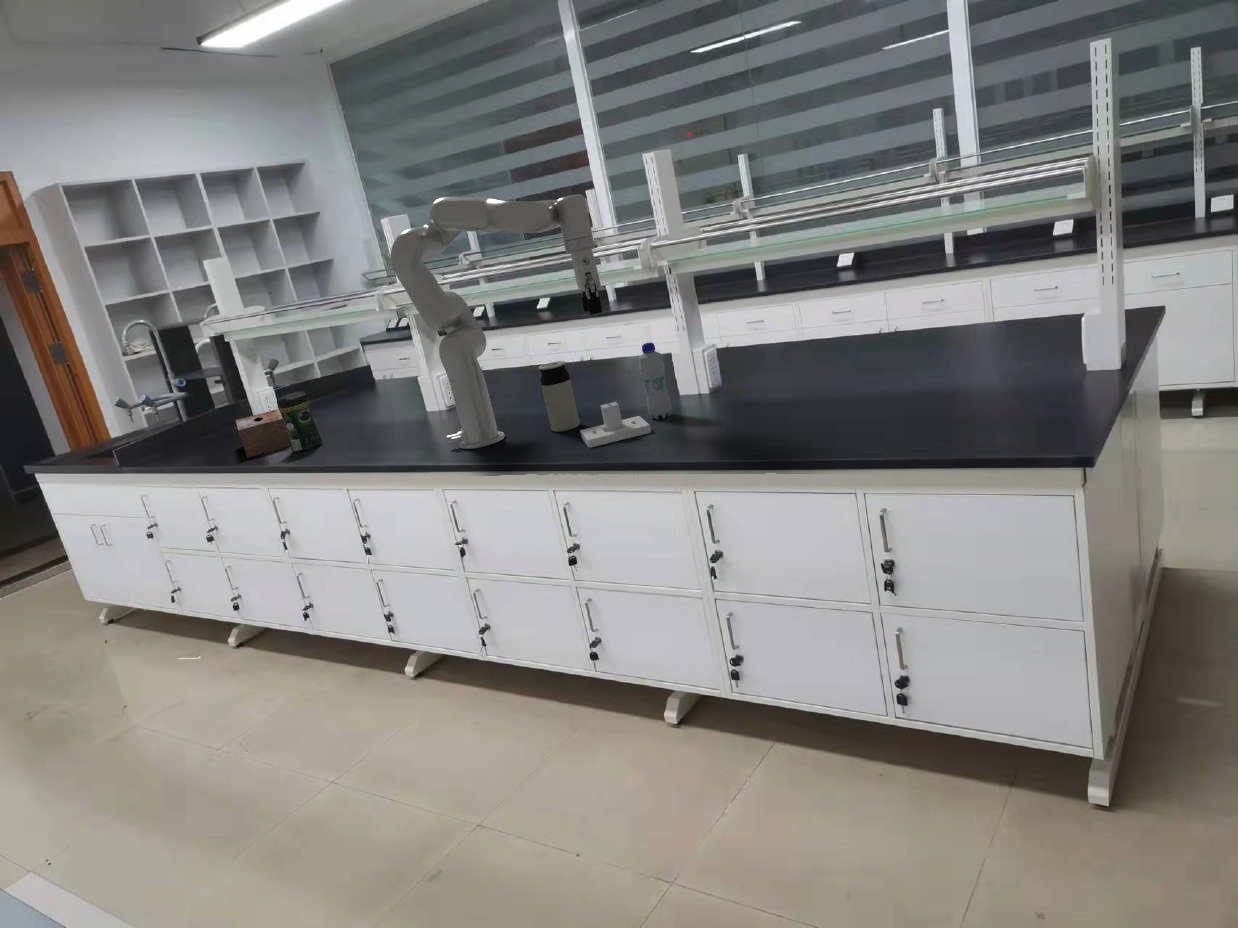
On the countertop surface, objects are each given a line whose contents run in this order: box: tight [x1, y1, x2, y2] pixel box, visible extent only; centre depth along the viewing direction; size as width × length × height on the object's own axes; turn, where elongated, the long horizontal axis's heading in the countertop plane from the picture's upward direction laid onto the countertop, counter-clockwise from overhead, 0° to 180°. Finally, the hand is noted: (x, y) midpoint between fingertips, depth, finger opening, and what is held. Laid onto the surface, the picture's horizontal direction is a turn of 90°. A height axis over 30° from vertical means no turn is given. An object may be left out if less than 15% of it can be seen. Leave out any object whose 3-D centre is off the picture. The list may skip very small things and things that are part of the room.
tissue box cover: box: [235, 409, 291, 459], centre depth 306 cm, size 26×14×10 cm, turn 25°
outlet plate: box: [579, 415, 652, 449], centre depth 224 cm, size 16×12×2 cm
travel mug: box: [537, 360, 581, 433], centre depth 240 cm, size 8×8×18 cm
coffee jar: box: [276, 391, 323, 453], centre depth 286 cm, size 10×8×19 cm
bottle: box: [638, 342, 673, 420], centre depth 230 cm, size 7×7×20 cm
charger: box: [600, 401, 623, 432], centre depth 223 cm, size 4×4×8 cm
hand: (593, 311), depth 229 cm, fingers open, 9 cm apart
